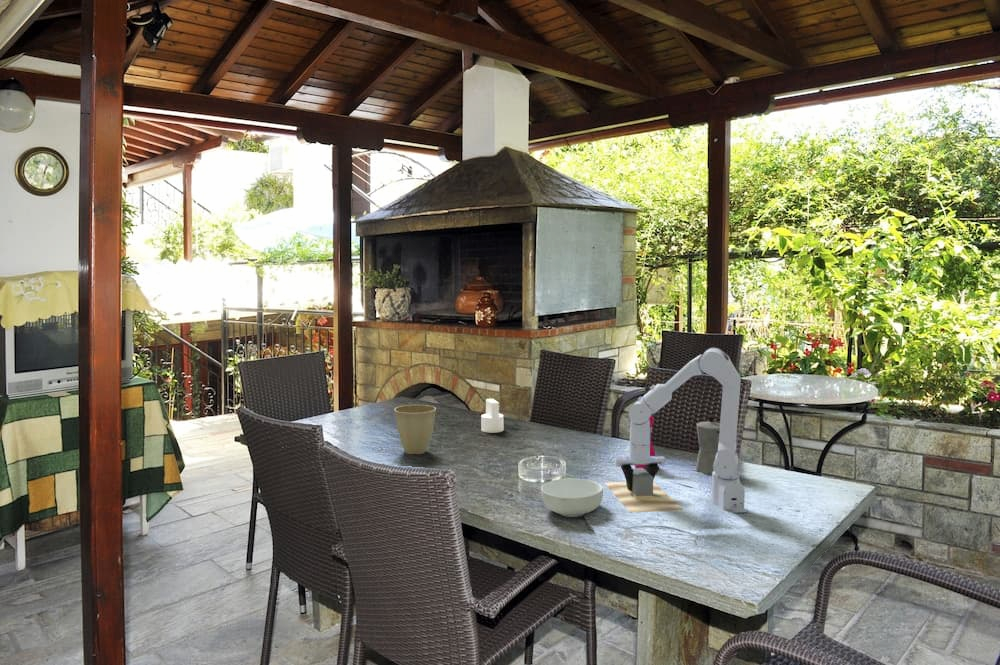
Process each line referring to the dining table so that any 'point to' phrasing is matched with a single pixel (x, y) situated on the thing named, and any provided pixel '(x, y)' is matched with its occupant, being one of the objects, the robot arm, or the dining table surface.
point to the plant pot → (415, 426)
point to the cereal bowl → (572, 496)
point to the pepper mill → (652, 451)
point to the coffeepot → (707, 445)
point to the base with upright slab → (492, 418)
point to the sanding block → (641, 484)
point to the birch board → (643, 499)
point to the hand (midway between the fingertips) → (639, 489)
